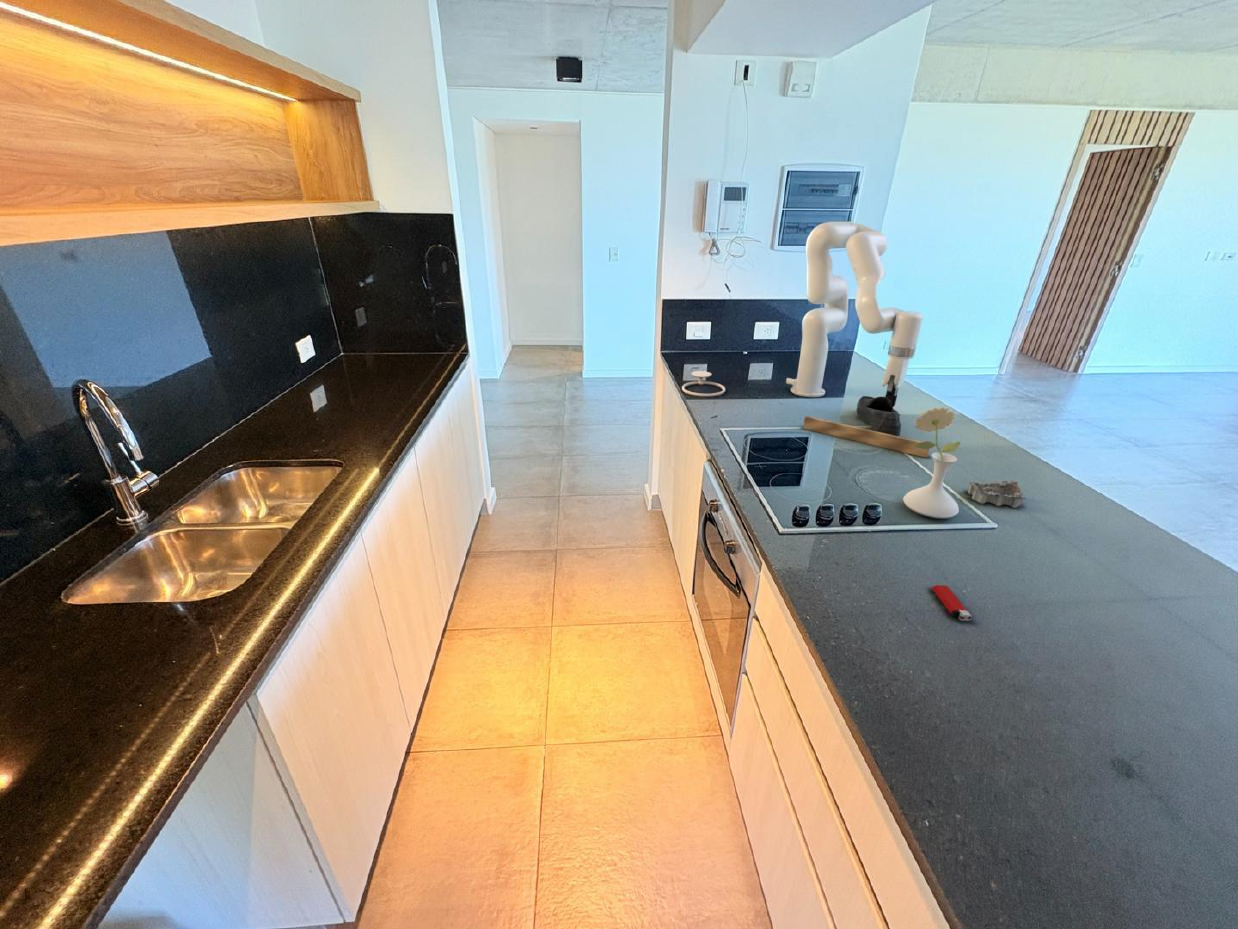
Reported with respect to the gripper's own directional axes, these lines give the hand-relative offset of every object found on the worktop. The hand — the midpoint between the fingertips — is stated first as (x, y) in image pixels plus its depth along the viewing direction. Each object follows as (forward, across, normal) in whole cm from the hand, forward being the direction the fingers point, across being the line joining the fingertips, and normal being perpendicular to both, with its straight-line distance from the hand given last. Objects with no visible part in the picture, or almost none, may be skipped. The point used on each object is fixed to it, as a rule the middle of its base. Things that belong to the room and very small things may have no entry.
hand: (889, 405), depth 177 cm
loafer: (+4, +10, -1) cm, 11 cm away
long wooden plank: (+4, +27, 0) cm, 27 cm away
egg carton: (+5, +44, +35) cm, 57 cm away
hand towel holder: (+4, +11, -65) cm, 66 cm away
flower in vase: (+5, +60, +23) cm, 64 cm away
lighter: (+5, +94, +34) cm, 100 cm away
